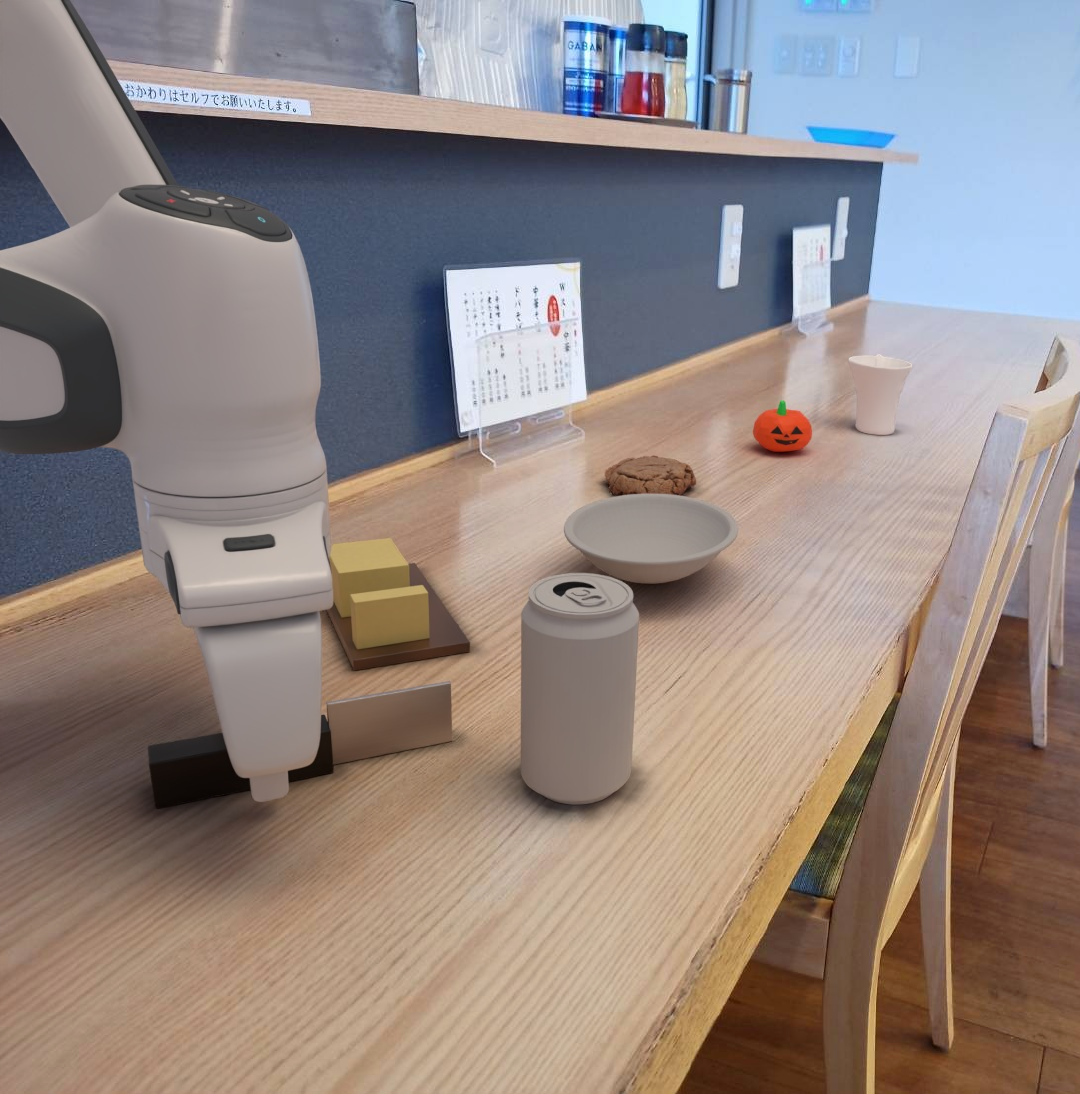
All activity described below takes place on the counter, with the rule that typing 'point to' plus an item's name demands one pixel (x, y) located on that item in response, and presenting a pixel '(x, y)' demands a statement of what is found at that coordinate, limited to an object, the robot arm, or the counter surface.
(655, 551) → the dish
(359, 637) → the butter slice
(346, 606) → the butter
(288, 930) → the counter surface
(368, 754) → the knife
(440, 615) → the butter board
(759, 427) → the pumpkin
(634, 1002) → the counter surface
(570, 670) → the beverage can
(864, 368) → the cup
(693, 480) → the cookie
